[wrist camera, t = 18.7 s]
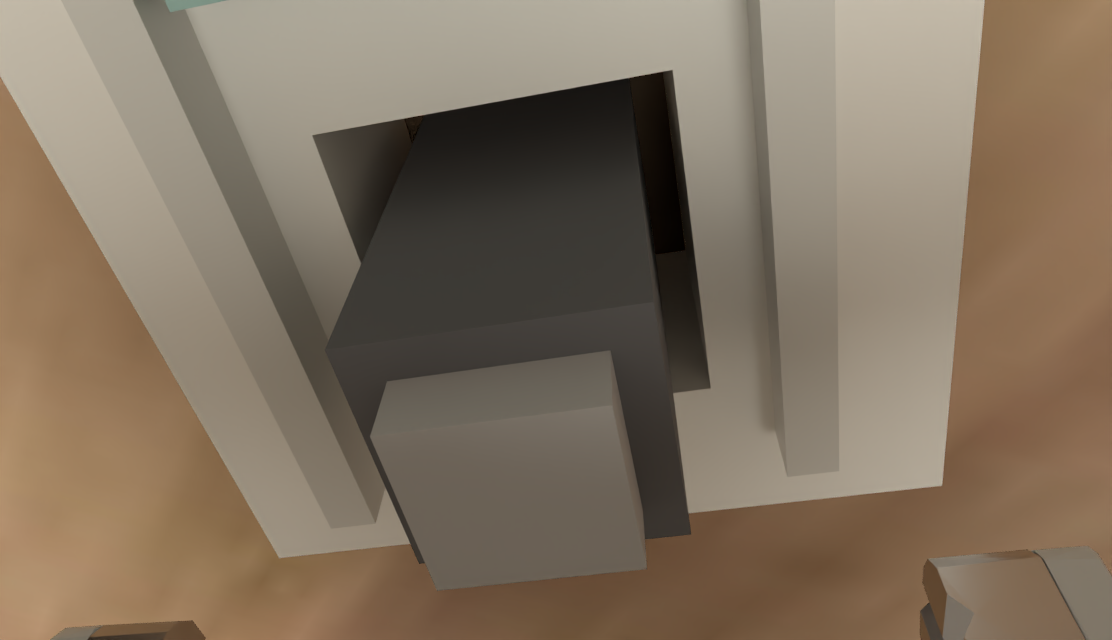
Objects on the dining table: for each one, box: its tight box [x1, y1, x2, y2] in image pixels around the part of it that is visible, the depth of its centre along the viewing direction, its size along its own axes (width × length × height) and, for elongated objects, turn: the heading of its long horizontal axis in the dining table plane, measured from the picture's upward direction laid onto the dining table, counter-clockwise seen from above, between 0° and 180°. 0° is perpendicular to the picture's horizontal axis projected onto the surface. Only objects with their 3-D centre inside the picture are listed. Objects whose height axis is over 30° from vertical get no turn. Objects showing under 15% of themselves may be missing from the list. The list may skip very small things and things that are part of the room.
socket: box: [0, 0, 985, 558], centre depth 14 cm, size 18×14×6 cm
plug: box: [325, 78, 691, 591], centre depth 14 cm, size 4×4×10 cm
